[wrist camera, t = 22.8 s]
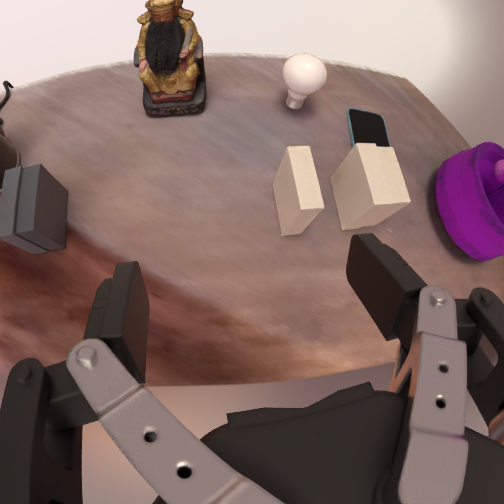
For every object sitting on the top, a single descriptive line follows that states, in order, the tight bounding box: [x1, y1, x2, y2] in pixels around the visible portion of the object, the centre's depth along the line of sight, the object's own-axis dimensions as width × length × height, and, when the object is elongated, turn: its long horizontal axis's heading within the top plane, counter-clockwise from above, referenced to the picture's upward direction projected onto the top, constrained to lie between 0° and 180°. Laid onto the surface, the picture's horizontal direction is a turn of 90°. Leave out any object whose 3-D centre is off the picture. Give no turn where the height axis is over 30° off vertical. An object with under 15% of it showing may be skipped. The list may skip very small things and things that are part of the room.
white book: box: [272, 146, 324, 236], centre depth 37 cm, size 3×8×10 cm, turn 8°
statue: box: [134, 0, 206, 117], centre depth 34 cm, size 12×8×20 cm, turn 88°
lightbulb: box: [282, 53, 327, 109], centre depth 41 cm, size 6×6×11 cm
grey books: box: [0, 164, 68, 254], centre depth 33 cm, size 6×9×10 cm, turn 8°
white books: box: [330, 143, 411, 230], centre depth 38 cm, size 6×8×10 cm
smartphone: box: [347, 108, 391, 148], centre depth 46 cm, size 7×1×15 cm
